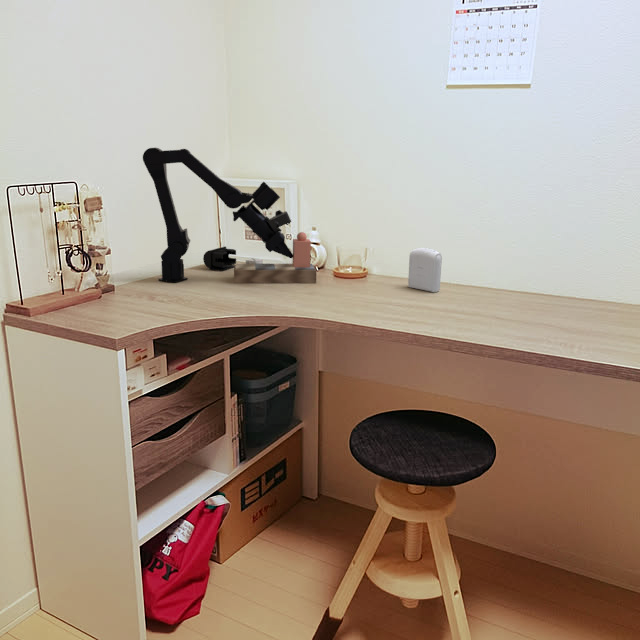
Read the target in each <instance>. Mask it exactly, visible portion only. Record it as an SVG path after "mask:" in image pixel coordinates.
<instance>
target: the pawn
mask: <svg viewBox="0 0 640 640" xmlns="http://www.w3.org/2000/svg"><path fill="white" fill-rule="evenodd" d="M307 237H308V236H307V233H305V232H304V231H301V232H298V233H297V235H296V238H292V254H293V256H294V257H293V258H292V264H293V266H294V267H310V264H311V250H312V246H311V245H312V244H311V243H312V242H311V241H312V240H310V239H309V238H307Z"/></svg>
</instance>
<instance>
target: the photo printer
mask: <svg viewBox="0 0 640 640" xmlns="http://www.w3.org/2000/svg"><path fill="white" fill-rule="evenodd" d="M442 259H443V257H442V254H441V252H439V251H437V250H435V249H432V248H427V247H418V248H414V249H412V250H410V254H409V262H408V278H407V279H408V281H407V282H408V283H407V284H408V285H407V286H408V287H409V288H411V289H417V290H422V291H426V292H431V293H437V292H439V291H440V290H441V278H442V277H441V275H442Z"/></svg>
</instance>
